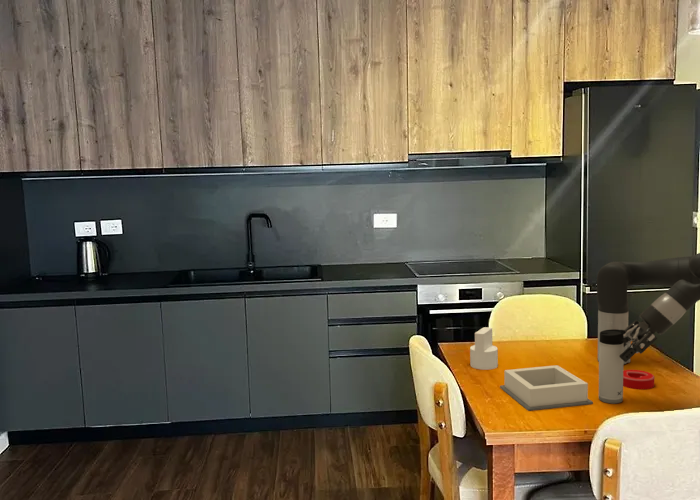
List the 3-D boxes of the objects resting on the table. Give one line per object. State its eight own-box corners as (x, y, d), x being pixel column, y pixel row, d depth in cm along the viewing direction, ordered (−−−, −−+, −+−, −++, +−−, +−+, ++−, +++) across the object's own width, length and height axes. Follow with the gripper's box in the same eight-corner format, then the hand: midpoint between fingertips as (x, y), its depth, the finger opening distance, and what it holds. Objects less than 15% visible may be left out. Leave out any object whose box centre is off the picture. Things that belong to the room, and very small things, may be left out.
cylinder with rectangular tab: (492, 371, 204) (492, 335, 202) (466, 367, 208) (465, 332, 207) (501, 363, 211) (501, 328, 210) (475, 360, 216) (475, 326, 214)
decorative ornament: (624, 377, 194) (624, 367, 193) (658, 383, 188) (658, 372, 187) (614, 386, 187) (614, 375, 186) (649, 392, 180) (649, 381, 180)
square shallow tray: (558, 381, 191) (558, 363, 191) (592, 403, 173) (593, 384, 172) (500, 387, 188) (499, 369, 187) (528, 410, 170) (528, 390, 169)
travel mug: (626, 404, 171) (627, 333, 169) (600, 403, 173) (601, 332, 170) (621, 396, 178) (622, 327, 175) (596, 395, 179) (597, 327, 176)
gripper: (682, 329, 162) (635, 372, 165) (664, 316, 176) (621, 356, 179) (660, 310, 162) (614, 352, 166) (644, 298, 176) (601, 338, 180)
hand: (617, 354), depth 173 cm, fingers open, 8 cm apart
